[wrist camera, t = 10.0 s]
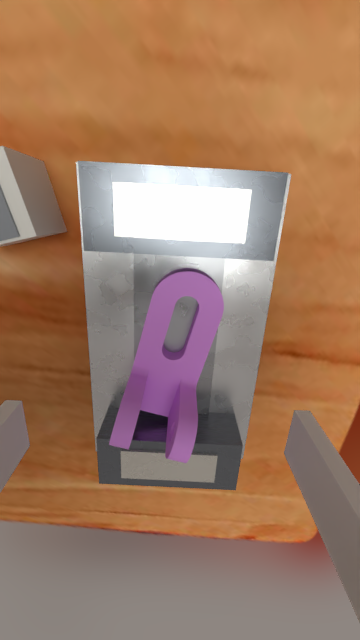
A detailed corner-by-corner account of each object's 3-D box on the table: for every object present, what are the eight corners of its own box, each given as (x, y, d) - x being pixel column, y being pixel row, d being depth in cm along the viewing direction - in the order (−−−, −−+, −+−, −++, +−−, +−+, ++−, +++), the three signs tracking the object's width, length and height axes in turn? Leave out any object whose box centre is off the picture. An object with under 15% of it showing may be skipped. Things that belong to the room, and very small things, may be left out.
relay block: (9, 245, 23) (-39, 253, 18) (-19, 177, 21) (-81, 166, 16) (67, 231, 22) (35, 236, 17) (44, 161, 21) (0, 145, 16)
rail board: (98, 443, 30) (81, 488, 25) (81, 164, 20) (48, 148, 16) (240, 450, 30) (252, 497, 25) (286, 175, 21) (318, 163, 16)
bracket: (183, 410, 26) (182, 475, 20) (125, 395, 26) (105, 456, 19) (231, 279, 22) (251, 307, 15) (162, 259, 22) (153, 278, 15)
